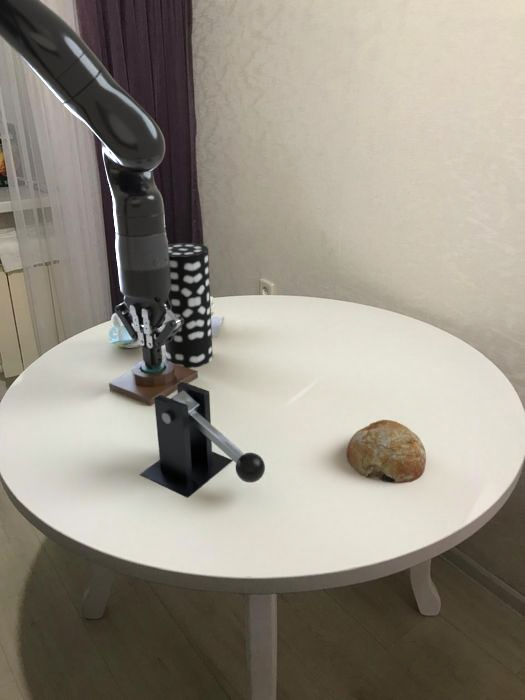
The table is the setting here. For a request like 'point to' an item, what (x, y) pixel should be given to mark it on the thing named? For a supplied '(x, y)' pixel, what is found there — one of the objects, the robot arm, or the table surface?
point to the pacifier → (120, 334)
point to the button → (153, 371)
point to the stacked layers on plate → (215, 321)
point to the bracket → (183, 445)
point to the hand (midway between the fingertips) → (153, 365)
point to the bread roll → (387, 452)
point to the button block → (152, 382)
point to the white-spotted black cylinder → (190, 305)
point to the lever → (224, 442)
